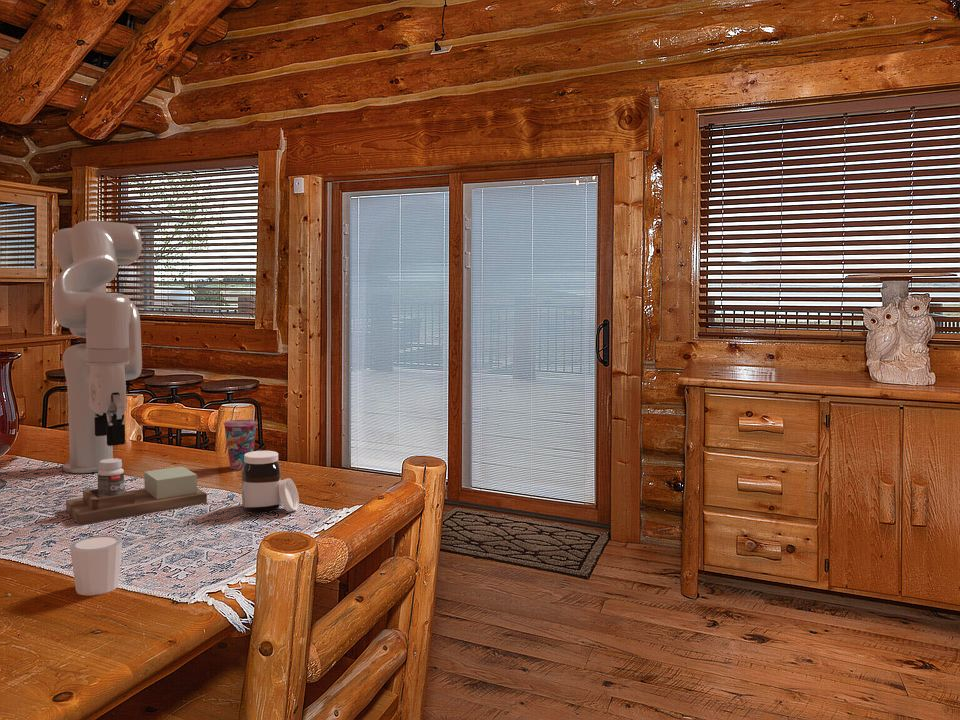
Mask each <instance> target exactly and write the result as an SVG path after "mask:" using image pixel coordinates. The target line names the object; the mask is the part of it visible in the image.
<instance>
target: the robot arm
mask: <svg viewBox="0 0 960 720" xmlns="http://www.w3.org/2000/svg"><path fill="white" fill-rule="evenodd" d="M52 240H53V248H54V249H53V250H54V254H55V257H56V260H57V262H58V265H59V267H60V269H61V272H60V273H59V274H58V275H57V277H56V279H55V281H54V284H53V287H52V288H53V289H52V299H53V300H52V301H53V310H54V317H55V319H56V321H57V323H58V324H59V325H60V326H62V327H63V328H66V329H69V331H70V333H71V335H73V337H77V338H83V339H85V341H86V342H85V343H79V344H78V343H77V344H74V345H73V344H72V345H71V346H69V347H67V348H66V349H65V351H64V353H63V355H62V366H63V370H64V375H65V381H66V389H67V398H68V399H67V403H68V405H67V406H68V407H67V408H68V437H69V439H68V441H69V445H68V446H69V462H66V463H64V464H63V465H62V471H64V472H65V471H66V472H65V473H69V472H71V474H90V473H91V474H92V472H94V473H98V471H99V470H101V469H100V467H99V462H100V461H101V460H104V459H112V458H114V449H113V447H114V446H121V445H125V444H126V421H125V420H126V419H125V414H124V413H125V412H126V410H127V385H126V384H127V383H126V381H130V380H131V381H132V380H135V379H137V378H139V377H140V375H141V374H142V370H143V352H142V350H143V349H142V331H141V328H142V327H141V326H142V325H141V317H140V312H139V309H138V307H137V306H136V304H134V303H133V301H132V300H130V298H129V297H128V296H127V295H126V294H124V293H119V292H107V284H109V283H110V282H111V281H113V280H114V279H115V278H116V276H117V274H118V272H119V271H118V270H119V266H129V265H131V264H133V263H134V262H136V261H137V260H138V259H139V257H140V255H142V254H141V253H142V249H143V243H142V241H143V240H142V236H141V234H140V231H139V230H138V228H137V227H136V226H135V225H133V224H131V223H127V222H119V221H118V222H115V221H105V220H104V221H103V220H82V221H80V222H78V223H76V224H75V225H73V227H67V228H61V229H59V230H57V231H56V232H55V233H54V236H53V239H52Z"/></svg>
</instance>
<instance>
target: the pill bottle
mask: <svg viewBox="0 0 960 720" xmlns="http://www.w3.org/2000/svg"><path fill="white" fill-rule="evenodd" d="M122 461H123V460H122V459H121V458H117V457H116V458H114V457H113V458H112V459H104V460H101V461H100V462H99V467H100V469H101V470H99V471H98V472H97V488H98V498H101V497H107V496H114V495H120V494H124V487H125V470H124V469H123V468H122V467H123V462H122Z"/></svg>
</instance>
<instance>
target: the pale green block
mask: <svg viewBox="0 0 960 720" xmlns="http://www.w3.org/2000/svg"><path fill="white" fill-rule="evenodd" d="M143 474H144V475H143V476H144V482H143V483H144V484H143V485H144V488H145V490H146V491H147V492H148V493H150V494H151V495H152V496H154V497H155V498H156V499H163V498H169V497H175V496H181V495H187V494H194V493H197V488H198V475H197V474H196V473H195V472H193V471H191V470H190V469H188V468H186V467H185V466H176V467H170V468H169V467H168V468H162V469H161V468H159V469H153V470H148V471H144V473H143Z"/></svg>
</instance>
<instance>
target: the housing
mask: <svg viewBox="0 0 960 720" xmlns="http://www.w3.org/2000/svg"><path fill="white" fill-rule="evenodd" d="M207 496H208V494H207V493H206V492H205V491H204V490H202V489H200V488H198V487H197V493H194V494H187V495H181V496H175V497H169V498H163V499H156V498H155V497H154V496H152V495H151V494H150V493H148V492H147V491H146V490H145V487H144V488H139V489H132V490H126V489H125V486H124V494H120V495H114V496H107V497H101V498H98V487H97V488H92V489H85V490H82V497H80V498H72V499H66V500H65V510H66V512H67V513H68V512H69V513H68V514H69V515H70V516H71V517H72V519H74V521H75V522H76V523H77V525H78V526H83V525H89V524H95V523H99V522H100V523H101V522H105V521H112V520H115V519H116V520H117V518H118V519H121V518H120V517H124V518H128V517H127V516H129V517H134V516H133V515H135V516H138V515H139V516H140V514H141V515H145V514H152V513H157V512H164V511H168V510H176V509H180V508H185V507H191V505H192V506H196V504H198V505H202V504H201V503H203V504H207V503H208V500H207V498H208V497H207Z"/></svg>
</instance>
